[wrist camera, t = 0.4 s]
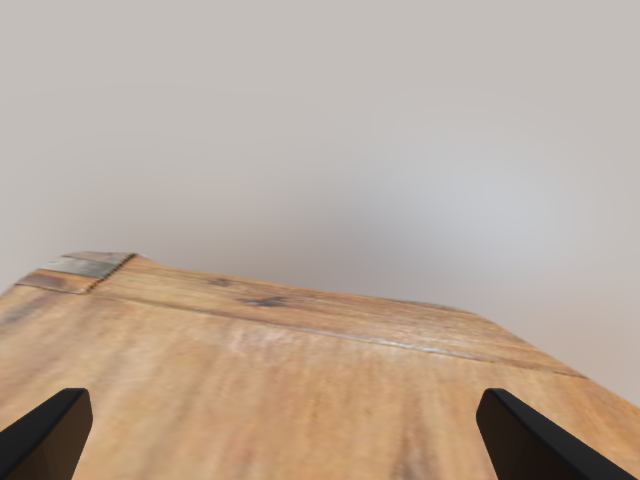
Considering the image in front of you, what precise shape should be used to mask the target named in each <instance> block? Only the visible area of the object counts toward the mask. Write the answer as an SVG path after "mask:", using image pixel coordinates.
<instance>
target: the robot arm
mask: <svg viewBox="0 0 640 480" xmlns="http://www.w3.org/2000/svg"><path fill="white" fill-rule="evenodd" d="M476 421H477V425H478V427H479V430H480V433H481V435H482V438H483V441H484V443H485V446H486V449H487V451H488V454H489V456H490V459H491V462H492V464H493V467H494V470H495V472H496V475H497V478H498V480H638V479H637V478H635V477H634V476H632V475H631V474H629V473H628V472H626V471H625V470H623V469H622V468H620V467H619V466H617V465H616V464H614V463H613V462H611V461H610V460H608V459H607V458H605V457H604V456H603V455H601V454H600V453H598V452H597V451H595V450H594V449H592V448H591V447H589V446H588V445H586V444H585V443H583V442H582V441H580V440H579V439H577V438H576V437H574V436H573V435H571V434H570V433H568V432H567V431H566V430H564V429H563V428H561V427H560V426H558V425H557V424H555V423H554V422H552V421H551V420H549V419H548V418H546V417H545V416H543V415H542V414H540V413H539V412H537V411H536V410H534V409H533V408H531V407H530V406H529V405H527V404H526V403H524V402H523V401H521V400H520V399H518V398H517V397H515V396H514V395H512V394H511V393H509V392H508V391H506V390H505V389H501V388H488V389H486V390H485V391H484V393H483V395H482V398H481V401H480V404H479V406H478V409H477V412H476ZM92 422H93V414H92V408H91V402H90V396H89V392H88V390H87V389H85V388H66V389H63V390H61V391H59V392H58V393H57V394H55V395H54V396H52V397H51V398H49V399H48V400H46V401H45V402H43V403H42V404H40V405H39V406H38V407H36V408H35V409H33V410H32V411H30V412H29V413H27V414H26V415H24V416H23V417H21V418H20V419H19V420H17V421H16V422H14V423H13V424H11V425H10V426H8V427H7V428H5V429H4V430H2V431H1V432H0V480H71V479H72V477H73V474H74V471H75V469H76V466H77V464H78V461H79V459H80V456H81V453H82V451H83V448H84V446H85V443H86V441H87V438H88V435H89V433H90V430H91V427H92Z"/></svg>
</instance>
